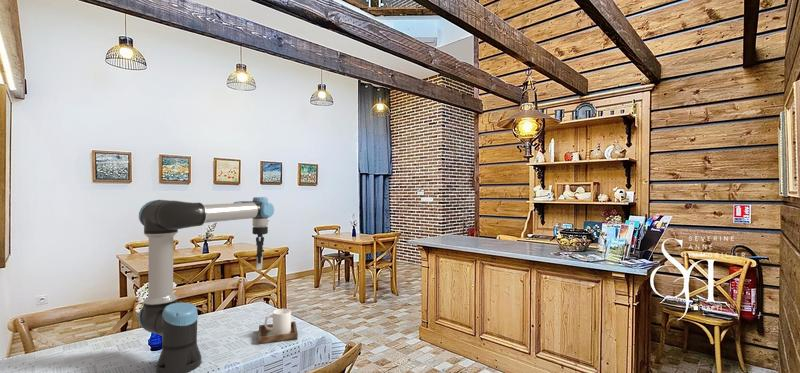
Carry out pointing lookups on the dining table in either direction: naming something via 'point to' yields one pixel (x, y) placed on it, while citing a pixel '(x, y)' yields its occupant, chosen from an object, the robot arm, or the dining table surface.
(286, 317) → the cup
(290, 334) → the tray
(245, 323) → the dining table surface
